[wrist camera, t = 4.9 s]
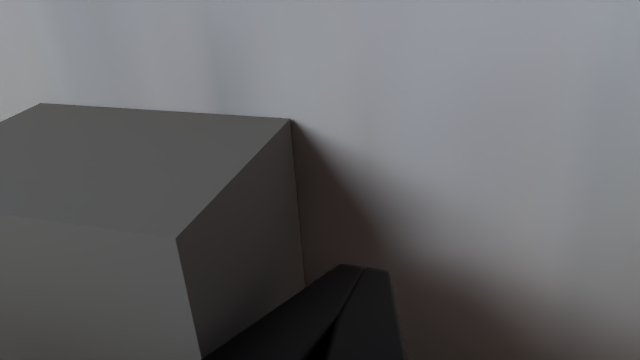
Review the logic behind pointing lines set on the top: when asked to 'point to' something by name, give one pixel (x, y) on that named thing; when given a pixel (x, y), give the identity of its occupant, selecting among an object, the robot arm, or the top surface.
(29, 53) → the top surface
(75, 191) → the block
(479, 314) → the top surface
